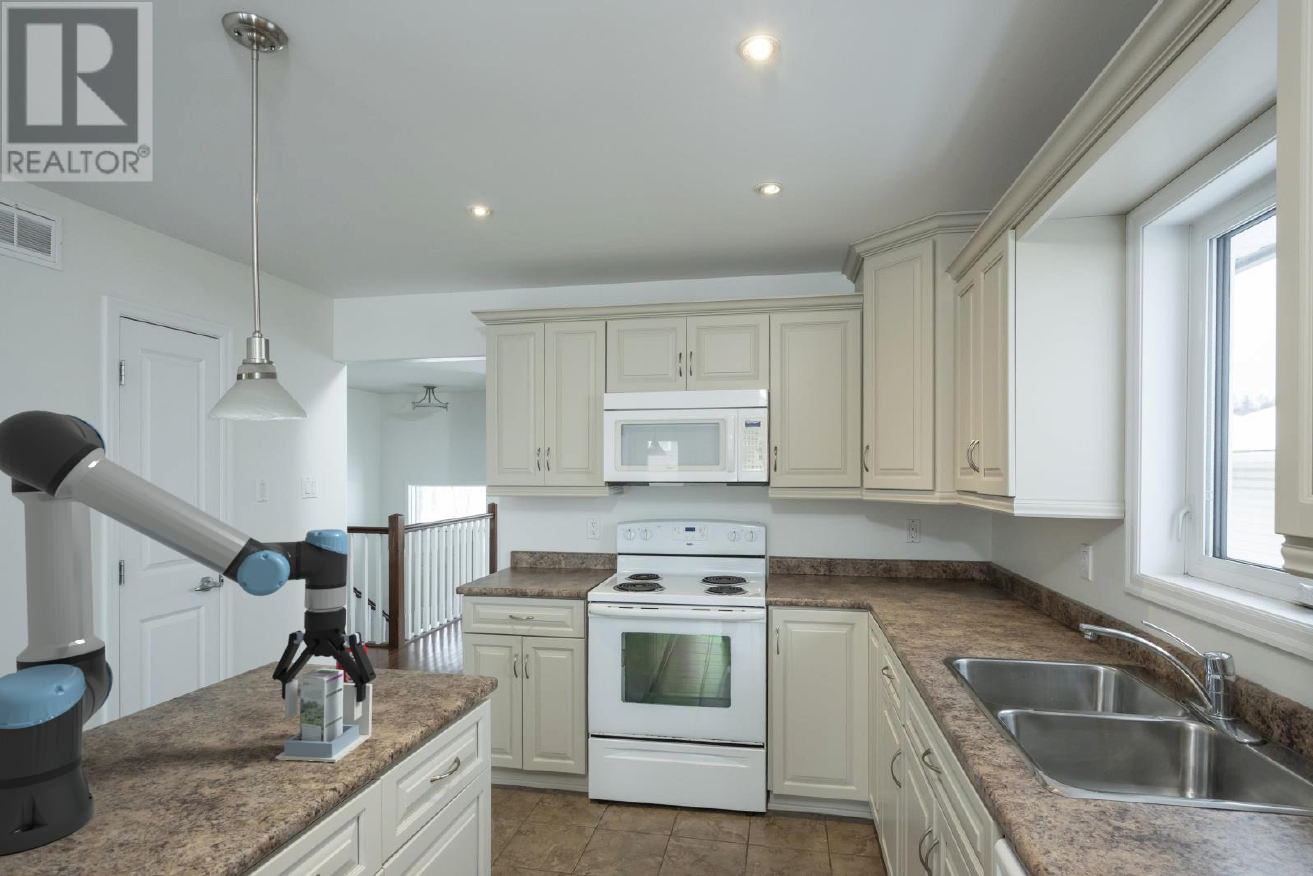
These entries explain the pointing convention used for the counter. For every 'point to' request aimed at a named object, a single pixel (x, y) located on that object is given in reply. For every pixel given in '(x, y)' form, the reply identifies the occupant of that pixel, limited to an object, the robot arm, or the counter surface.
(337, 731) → the syrup box
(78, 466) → the robot arm
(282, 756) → the blue white display stand
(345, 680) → the soda can
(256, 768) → the counter surface
